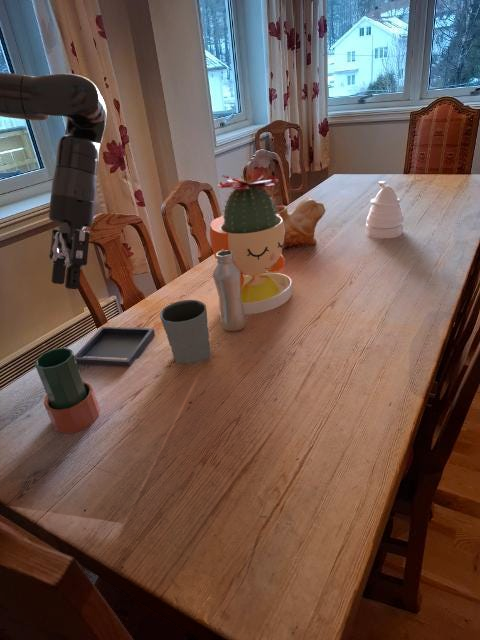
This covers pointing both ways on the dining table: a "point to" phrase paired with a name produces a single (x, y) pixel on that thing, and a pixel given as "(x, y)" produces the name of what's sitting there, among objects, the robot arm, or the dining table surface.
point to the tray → (115, 346)
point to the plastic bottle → (229, 292)
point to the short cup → (74, 413)
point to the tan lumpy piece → (301, 222)
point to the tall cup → (61, 378)
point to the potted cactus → (253, 241)
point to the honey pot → (385, 214)
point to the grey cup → (187, 331)
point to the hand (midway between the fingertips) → (64, 286)
